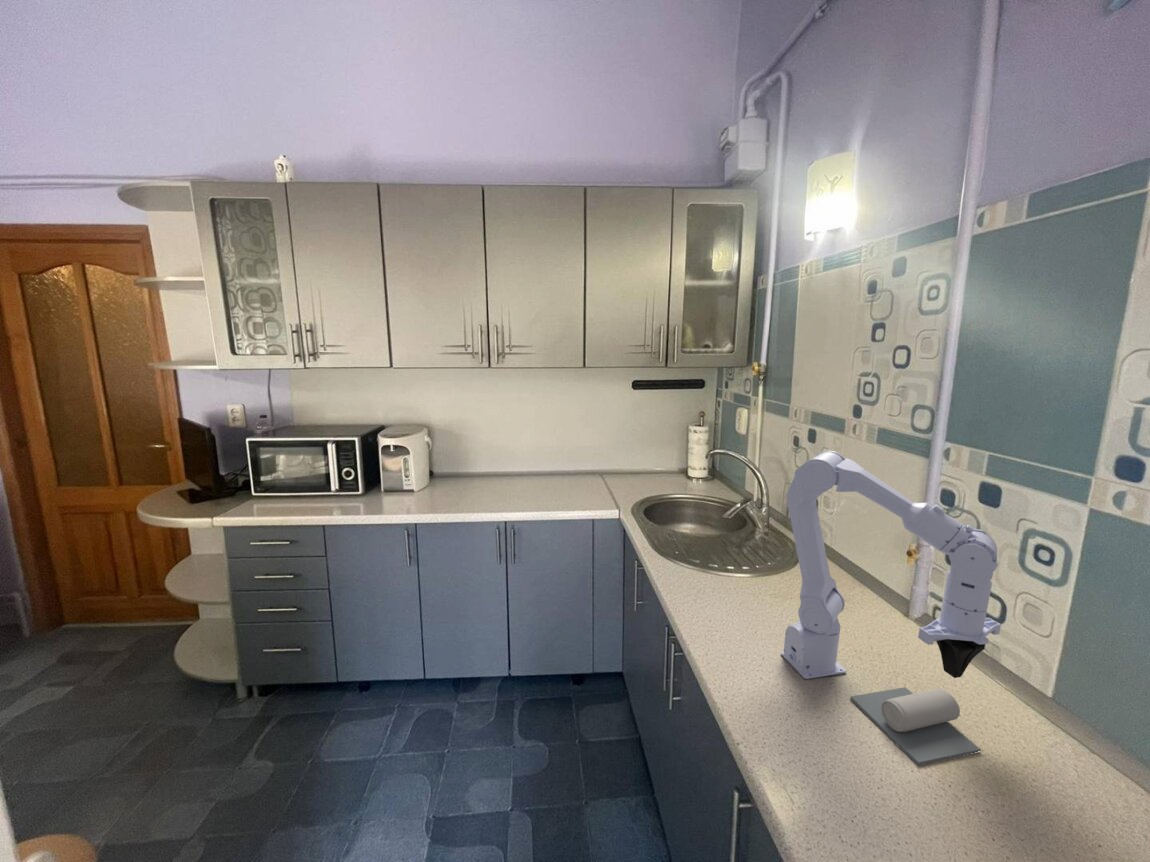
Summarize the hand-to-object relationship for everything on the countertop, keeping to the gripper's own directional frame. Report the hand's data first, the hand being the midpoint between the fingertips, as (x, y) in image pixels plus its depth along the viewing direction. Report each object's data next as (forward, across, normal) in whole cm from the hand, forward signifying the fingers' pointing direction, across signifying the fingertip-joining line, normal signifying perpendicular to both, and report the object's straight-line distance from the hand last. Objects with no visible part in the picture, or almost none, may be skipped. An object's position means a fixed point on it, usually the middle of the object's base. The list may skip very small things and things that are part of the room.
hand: (952, 673), depth 81 cm
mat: (+9, -7, 0) cm, 11 cm away
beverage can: (+6, 0, 0) cm, 6 cm away
